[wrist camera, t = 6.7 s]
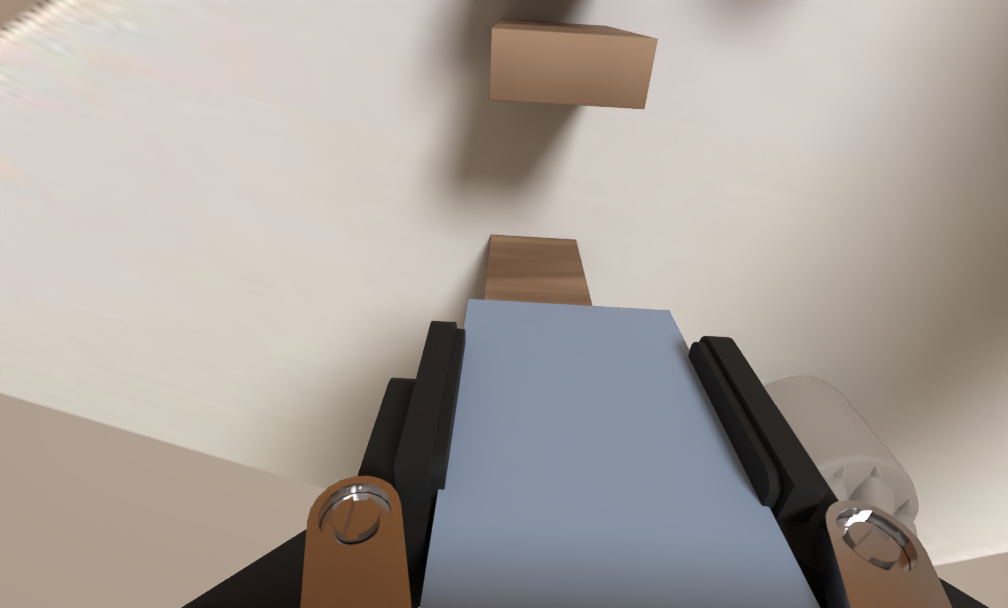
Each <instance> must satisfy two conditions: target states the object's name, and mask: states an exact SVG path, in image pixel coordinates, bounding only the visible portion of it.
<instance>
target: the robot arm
mask: <svg viewBox="0 0 1008 608" xmlns="http://www.w3.org/2000/svg"><path fill="white" fill-rule="evenodd" d="M465 343H466V330H465V329H457V323H456V322H442V321H431V324H430V327H429V331H428V335H427V339H426V343H425V347H424V350H423V354H422V358H421V362H420V366H419V370H418V373H417V377H416V379H405V378H391V379H390V381H389V383H388V386H387V389H386V392H385V395H384V398H383V401H382V404H381V407H380V410H379V413H378V416H377V419H376V422H375V425H374V428H373V431H372V434H371V437H370V440H369V443H368V446H367V449H366V452H365V455H364V458H363V461H362V464H361V467H360V470H359V473H358V476H354V477H351V478H347V479H344V480H341V481H339V482H337V483H335V484H334V485H332V486H330V487H328V488H327V489H326V490H325V491H324V492H323V493H322V494H321V495H320V496H318V498H317V499H316V501H315V502H314V504H313V506H312V507H311V509H310V513H309V516H308V521H307V529H306V530H304V531H303V532H301V533H299V534H298V535H296V536H295V537H293V538H292V539H290V540H288V541H287V542H285V543H284V544H282V545H280V546H279V547H277V548H276V549H274V550H272V551H271V552H269V553H268V554H266V555H265V556H263V557H261V558H260V559H258V560H257V561H255V562H253V563H252V564H250V565H249V566H247V567H245V568H244V569H242V570H241V571H239V572H237V573H236V574H235V575H233V576H231V577H230V578H228V579H226V580H225V581H223V582H221V583H220V584H218V585H217V586H215V587H214V588H212V589H210V590H209V591H207V592H206V593H204V594H202V595H201V596H199V597H198V598H196V599H194V600H193V601H191V602H190V603H188V604H186V605H185V606H183V607H182V608H418V607H420V604H421V598H422V591H423V585H424V578H425V572H426V566H427V559H428V553H429V546H430V540H431V534H432V527H433V521H434V514H435V508H436V502H437V495H438V489H440V490H445V484H446V477H447V469H448V462H449V455H450V448H451V441H452V434H453V427H454V420H455V413H456V406H457V399H458V392H459V385H460V378H461V371H462V364H463V357H464V350H465ZM688 357H689V359H690V361H691V363H692V365H693V367H694V369H695V371H696V373H697V375H698V377H699V379H700V381H701V383H702V385H703V387H704V389H705V391H706V393H707V395H708V397H709V399H710V401H711V403H712V405H713V407H714V409H715V411H716V413H717V415H718V417H719V420H720V422H721V424H722V426H723V428H724V430H725V432H726V434H727V436H728V438H729V440H730V442H731V444H732V446H733V448H734V450H735V452H736V454H737V456H738V458H739V460H740V462H741V464H742V466H743V468H744V470H745V472H746V474H747V476H748V478H749V480H750V482H751V484H752V486H753V488H754V490H755V492H756V494H757V496H758V498H759V500H760V502H761V504H762V506H766V507H769V508H770V510H771V512H772V514H773V516H774V518H775V520H776V522H777V524H778V526H779V528H780V530H781V532H782V533H783V535H784V537H785V539H786V541H787V543H788V545H789V547H790V549H791V551H792V553H793V555H794V557H795V559H796V561H797V563H798V565H799V567H800V569H801V571H802V573H803V575H804V577H805V579H806V581H807V583H808V585H809V587H810V589H811V591H812V593H813V595H814V597H815V598H816V600H817V602H818V604H819V606H820V608H988V607H987V606H985V605H983V604H982V603H980V602H979V601H977V600H975V599H973V598H972V597H970V596H968V595H967V594H965V593H964V592H962V591H960V590H959V589H957V588H955V587H954V586H952V585H950V584H949V583H947V582H945V581H944V580H942V579H940V578H939V577H938V576H937V574H936V571H935V569H934V567H933V565H932V563H931V560H930V558H929V556H928V554H927V552H926V550H925V549H924V547H923V546H922V544H921V542H920V541H919V539H918V538H917V537H916V536H915V535H914V534H913V533H912V532H911V531H910V530H909V529H908V528H907V527H906V526H905V525H904V524H902V523H901V522H900V521H898V520H897V519H896V518H895V517H893V516H892V515H890V514H888V513H886V512H884V511H883V510H881V509H879V508H877V507H874V506H872V505H869V504H866V503H863V502H858V501H851V500H845V501H839V500H838V499H837V497H836V496H835V494H834V493H833V491H832V490H831V488H830V487H829V485H828V484H827V482H826V480H825V479H824V477H823V476H822V474H821V473H820V471H819V470H818V468H817V467H816V465H815V464H814V462H813V461H812V459H811V458H810V456H809V454H808V453H807V451H806V450H805V448H804V447H803V445H802V444H801V442H800V441H799V439H798V438H797V436H796V435H795V433H794V432H793V430H792V429H791V427H790V425H789V424H788V422H787V421H786V419H785V418H784V416H783V415H782V413H781V412H780V410H779V409H778V407H777V406H776V404H775V403H774V402H773V400H772V399H771V397H770V395H769V394H768V392H767V391H766V389H765V388H764V386H763V385H762V383H761V382H760V380H759V379H758V377H757V376H756V374H755V373H754V371H753V369H752V368H751V366H750V365H749V363H748V362H747V360H746V359H745V357H744V356H743V354H742V353H741V351H740V350H739V348H738V346H737V345H736V343H735V342H734V341H733V339H732V338H729V337H715V336H703V337H702V338H701V339H700V341H699V342H694V343H693V344H692V346H691V348H690V351H689V354H688Z"/></svg>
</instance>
